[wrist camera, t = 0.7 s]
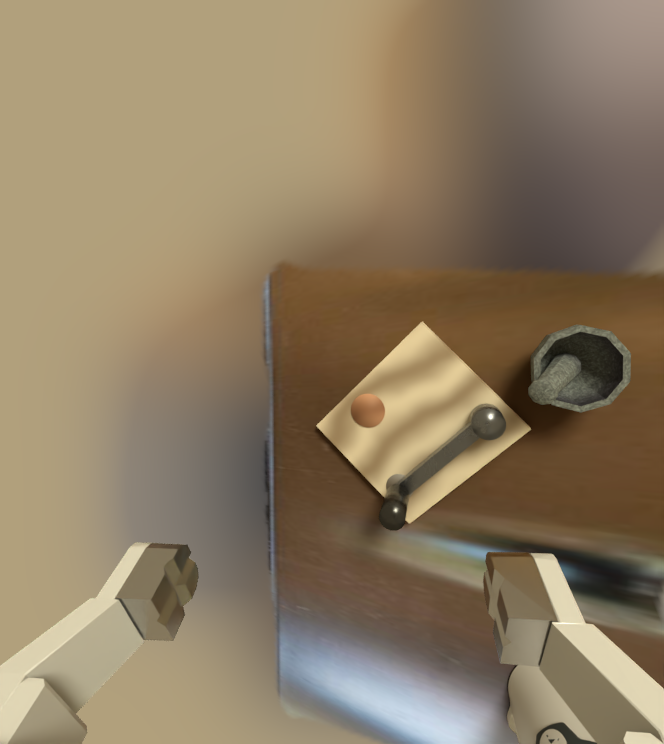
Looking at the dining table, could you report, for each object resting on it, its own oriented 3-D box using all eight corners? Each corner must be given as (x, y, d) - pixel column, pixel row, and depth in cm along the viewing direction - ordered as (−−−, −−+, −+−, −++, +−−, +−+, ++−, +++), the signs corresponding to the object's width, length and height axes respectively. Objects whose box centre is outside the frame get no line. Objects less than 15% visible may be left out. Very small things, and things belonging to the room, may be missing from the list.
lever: (509, 419, 49) (521, 439, 42) (400, 506, 55) (394, 537, 48) (487, 397, 50) (494, 412, 42) (381, 486, 56) (371, 513, 48)
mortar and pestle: (591, 312, 47) (638, 312, 36) (618, 382, 48) (673, 404, 36) (499, 346, 51) (515, 356, 39) (524, 410, 51) (547, 439, 40)
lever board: (528, 425, 51) (531, 429, 50) (410, 518, 58) (409, 524, 56) (422, 321, 53) (421, 321, 51) (319, 423, 60) (315, 426, 58)
